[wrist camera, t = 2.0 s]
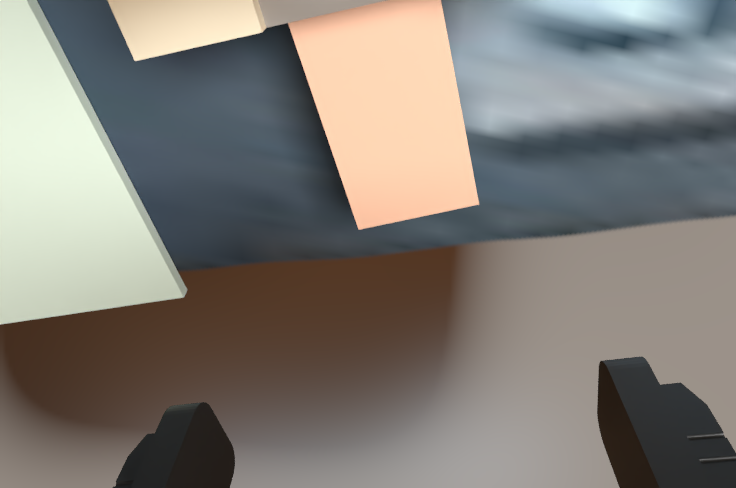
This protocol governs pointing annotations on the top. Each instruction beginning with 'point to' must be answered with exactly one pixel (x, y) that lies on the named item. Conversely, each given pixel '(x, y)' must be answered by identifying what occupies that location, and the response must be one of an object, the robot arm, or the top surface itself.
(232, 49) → the top surface
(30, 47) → the mat
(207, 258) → the top surface
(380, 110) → the peach rectangular slab
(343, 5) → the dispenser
